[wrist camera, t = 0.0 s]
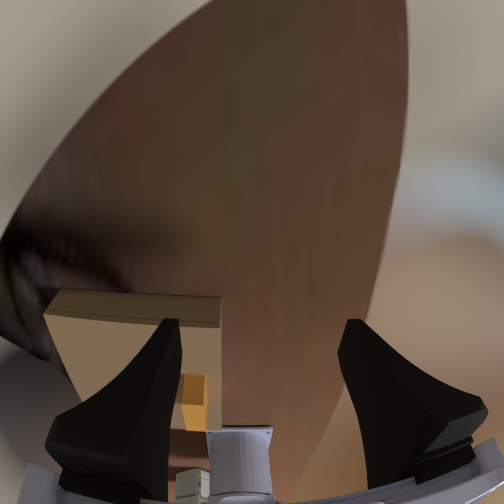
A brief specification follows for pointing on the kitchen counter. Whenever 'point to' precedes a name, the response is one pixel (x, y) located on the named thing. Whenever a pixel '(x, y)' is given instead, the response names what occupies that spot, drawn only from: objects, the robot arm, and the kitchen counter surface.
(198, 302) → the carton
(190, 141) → the kitchen counter surface
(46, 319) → the lid panel
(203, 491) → the syrup box
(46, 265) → the kitchen counter surface
